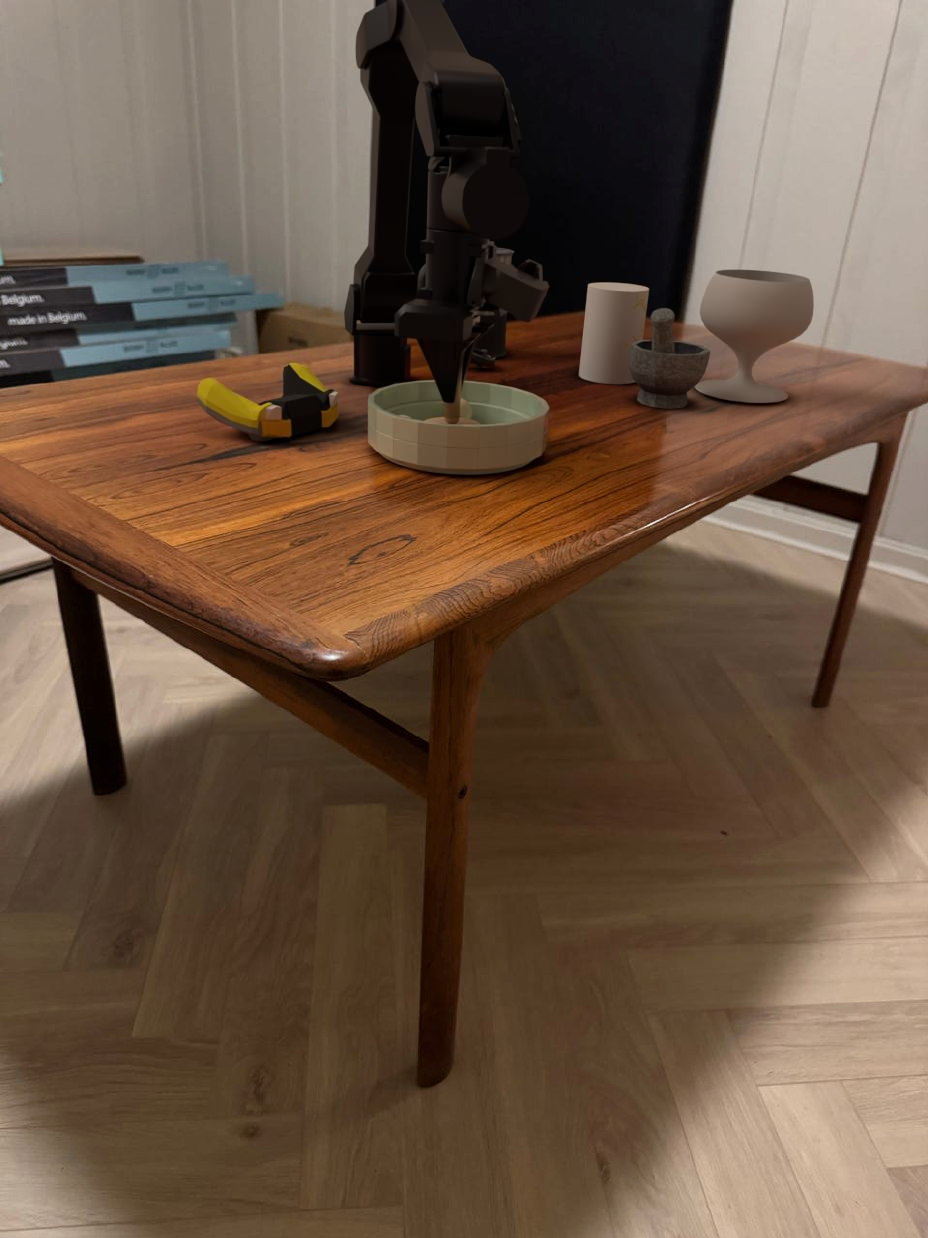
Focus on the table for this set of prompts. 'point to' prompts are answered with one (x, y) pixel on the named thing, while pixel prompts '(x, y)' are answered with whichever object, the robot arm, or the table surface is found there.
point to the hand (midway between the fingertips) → (451, 400)
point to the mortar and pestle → (666, 364)
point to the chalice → (753, 325)
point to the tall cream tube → (611, 331)
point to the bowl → (458, 428)
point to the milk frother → (495, 338)
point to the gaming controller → (273, 406)
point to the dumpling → (465, 409)
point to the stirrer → (453, 411)
